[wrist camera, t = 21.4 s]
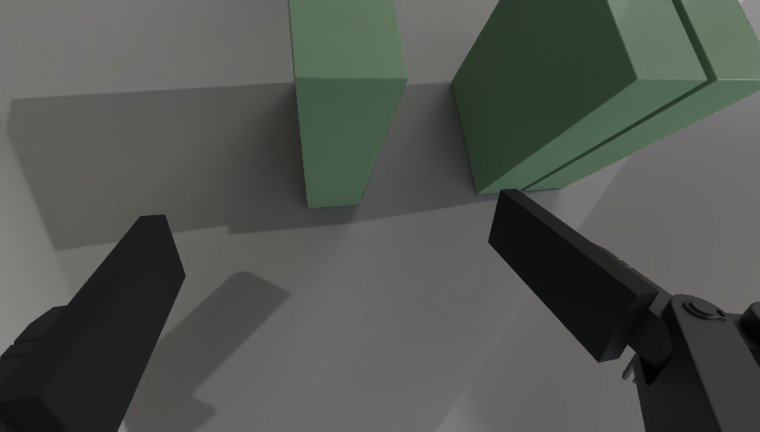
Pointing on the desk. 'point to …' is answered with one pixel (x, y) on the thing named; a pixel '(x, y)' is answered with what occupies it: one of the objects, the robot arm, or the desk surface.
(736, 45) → the green book
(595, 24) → the green book
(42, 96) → the desk surface
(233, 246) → the desk surface
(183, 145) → the desk surface
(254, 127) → the desk surface
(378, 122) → the sage book
